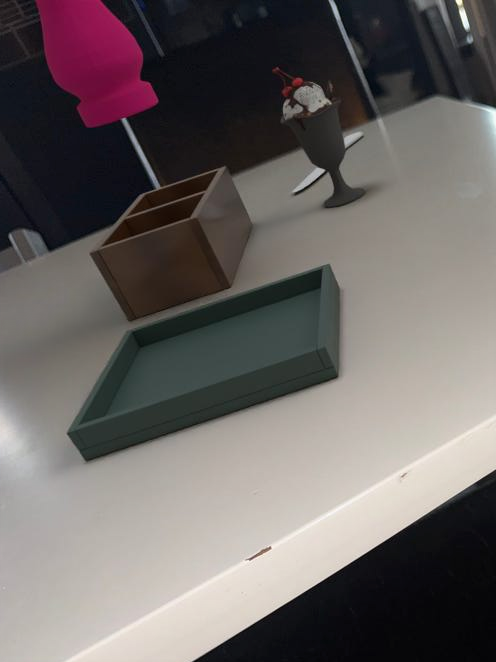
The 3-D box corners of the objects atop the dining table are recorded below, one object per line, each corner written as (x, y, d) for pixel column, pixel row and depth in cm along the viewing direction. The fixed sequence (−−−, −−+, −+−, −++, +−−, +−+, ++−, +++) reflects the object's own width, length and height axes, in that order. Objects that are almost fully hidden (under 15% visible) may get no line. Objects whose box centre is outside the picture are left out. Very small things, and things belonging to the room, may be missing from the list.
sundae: (305, 214, 85) (248, 77, 78) (335, 190, 90) (284, 60, 83) (354, 207, 82) (299, 63, 75) (382, 182, 87) (333, 46, 80)
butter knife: (366, 129, 113) (348, 134, 113) (304, 188, 93) (283, 193, 94) (367, 132, 113) (349, 137, 114) (305, 191, 93) (285, 196, 94)
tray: (85, 461, 49) (65, 433, 48) (140, 354, 63) (125, 330, 62) (338, 376, 49) (325, 346, 48) (339, 288, 63) (329, 263, 62)
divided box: (128, 321, 71) (88, 253, 67) (169, 251, 88) (139, 194, 84) (231, 287, 71) (196, 217, 67) (252, 224, 88) (226, 165, 84)
